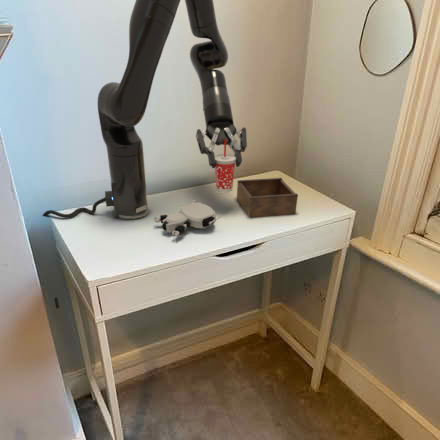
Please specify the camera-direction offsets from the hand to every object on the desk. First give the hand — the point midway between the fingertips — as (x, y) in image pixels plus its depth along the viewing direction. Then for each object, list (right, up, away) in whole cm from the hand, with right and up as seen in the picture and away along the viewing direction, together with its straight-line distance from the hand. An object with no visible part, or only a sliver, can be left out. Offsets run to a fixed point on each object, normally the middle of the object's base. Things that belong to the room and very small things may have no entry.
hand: (226, 165), depth 117 cm
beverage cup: (-1, -5, +6) cm, 8 cm away
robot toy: (-10, -17, -1) cm, 20 cm away
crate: (+12, -8, +12) cm, 19 cm away
